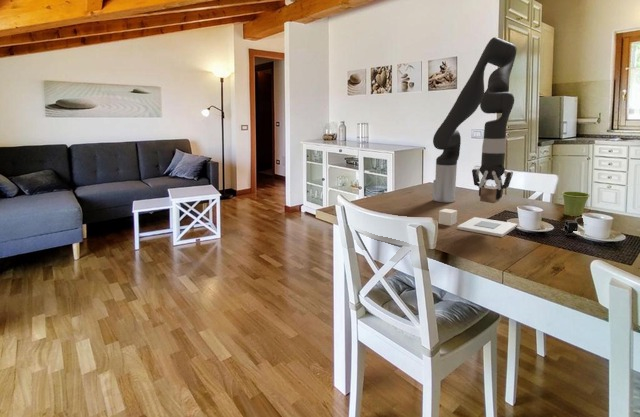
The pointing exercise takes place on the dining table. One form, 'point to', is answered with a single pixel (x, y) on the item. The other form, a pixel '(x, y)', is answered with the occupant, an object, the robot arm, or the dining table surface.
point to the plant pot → (574, 203)
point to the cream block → (447, 217)
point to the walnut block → (488, 194)
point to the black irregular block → (570, 226)
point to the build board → (487, 226)
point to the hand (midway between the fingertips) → (490, 198)
